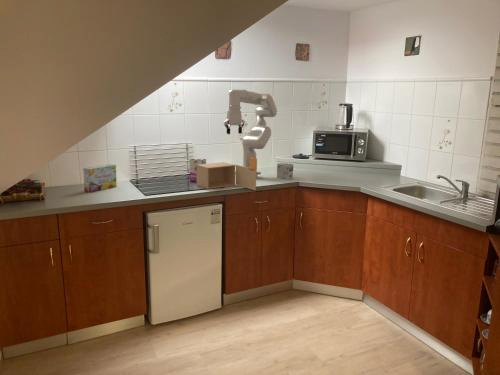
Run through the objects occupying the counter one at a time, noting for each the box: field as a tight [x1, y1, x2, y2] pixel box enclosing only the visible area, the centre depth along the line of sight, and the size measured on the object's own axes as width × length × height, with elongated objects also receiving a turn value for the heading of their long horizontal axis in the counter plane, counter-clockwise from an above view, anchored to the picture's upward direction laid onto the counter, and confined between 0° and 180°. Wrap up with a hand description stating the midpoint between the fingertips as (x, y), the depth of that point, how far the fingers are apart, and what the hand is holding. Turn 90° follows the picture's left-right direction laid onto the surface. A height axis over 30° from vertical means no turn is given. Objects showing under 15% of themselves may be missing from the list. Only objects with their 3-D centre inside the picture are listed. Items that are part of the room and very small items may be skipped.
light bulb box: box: [276, 162, 294, 180], centre depth 315 cm, size 11×7×11 cm, turn 58°
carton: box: [196, 161, 236, 190], centre depth 286 cm, size 22×14×14 cm, turn 128°
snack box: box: [82, 163, 117, 193], centre depth 268 cm, size 21×6×15 cm, turn 148°
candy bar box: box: [189, 157, 207, 183], centre depth 297 cm, size 11×5×16 cm, turn 62°
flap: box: [235, 157, 258, 191], centre depth 279 cm, size 22×2×21 cm, turn 37°
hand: (234, 133), depth 289 cm, fingers open, 9 cm apart
